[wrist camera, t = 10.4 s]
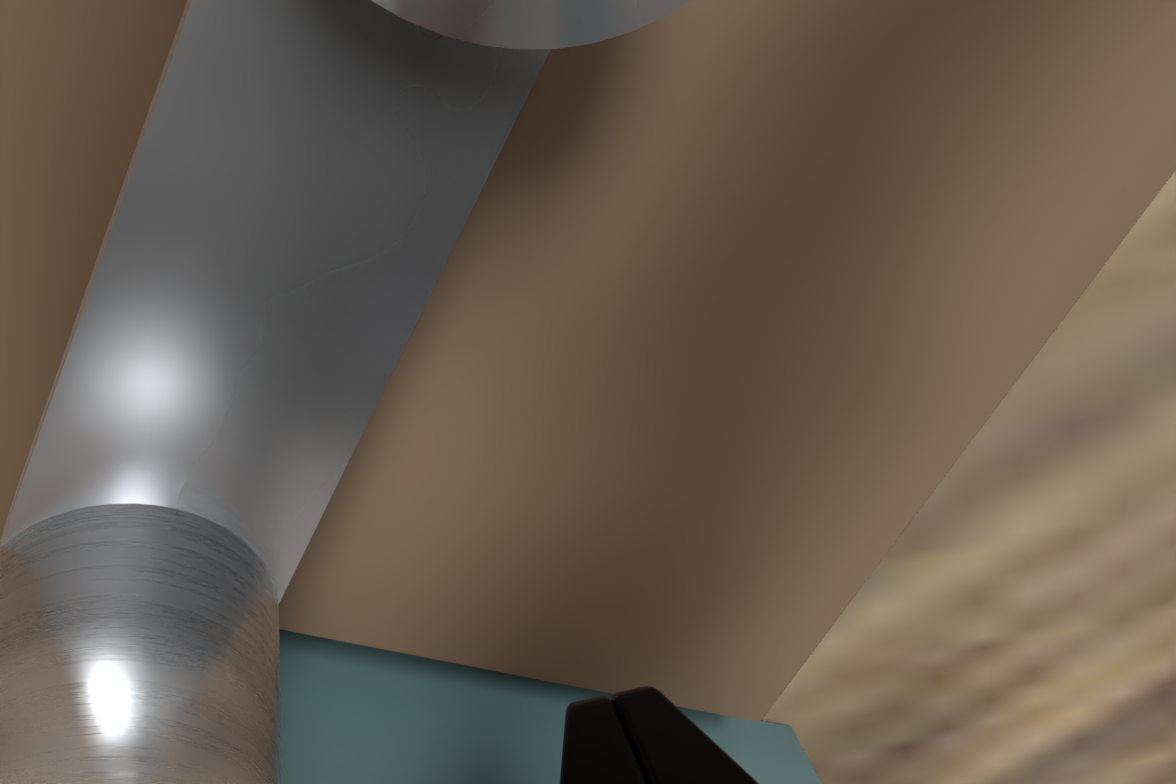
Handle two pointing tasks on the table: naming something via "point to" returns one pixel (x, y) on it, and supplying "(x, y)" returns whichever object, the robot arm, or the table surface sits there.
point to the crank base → (661, 315)
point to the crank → (242, 362)
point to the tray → (458, 722)
